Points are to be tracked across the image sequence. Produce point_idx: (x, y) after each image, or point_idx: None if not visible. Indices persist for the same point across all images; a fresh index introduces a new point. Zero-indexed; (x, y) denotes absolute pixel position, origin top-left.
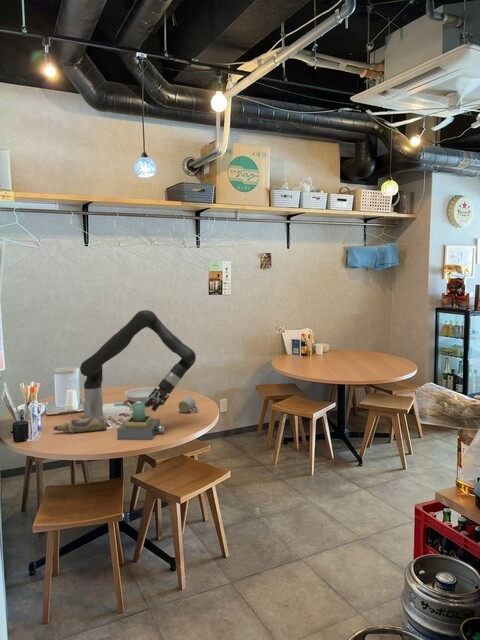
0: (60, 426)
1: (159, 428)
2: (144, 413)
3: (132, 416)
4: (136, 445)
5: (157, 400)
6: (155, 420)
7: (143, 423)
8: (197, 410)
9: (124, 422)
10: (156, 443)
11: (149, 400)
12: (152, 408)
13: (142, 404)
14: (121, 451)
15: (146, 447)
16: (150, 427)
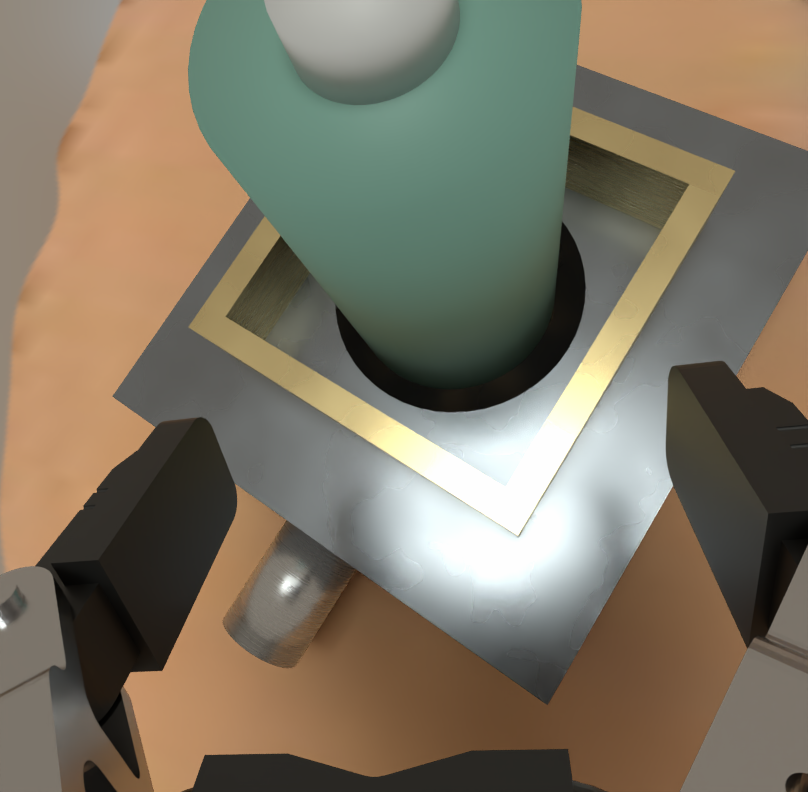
0: None
1: (258, 564)
2: (331, 295)
3: (675, 179)
4: (137, 236)
5: (11, 654)
6: (490, 590)
7: (226, 288)
8: None
9: (655, 105)
10: (60, 430)
11: (751, 504)
12: (159, 436)
13: (257, 127)
14: (89, 96)
15: (31, 310)
16: (196, 401)
